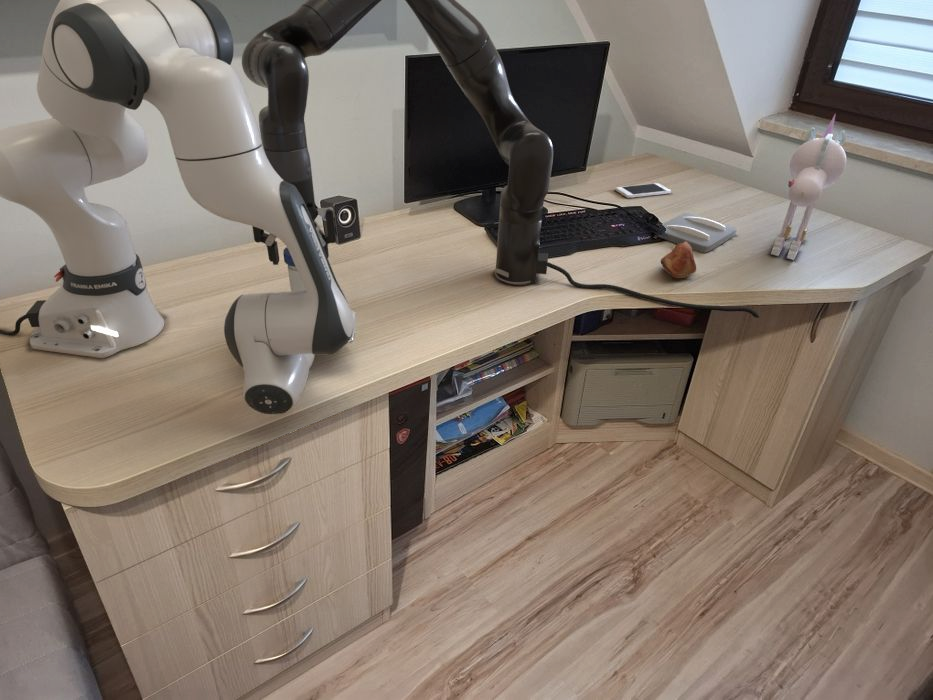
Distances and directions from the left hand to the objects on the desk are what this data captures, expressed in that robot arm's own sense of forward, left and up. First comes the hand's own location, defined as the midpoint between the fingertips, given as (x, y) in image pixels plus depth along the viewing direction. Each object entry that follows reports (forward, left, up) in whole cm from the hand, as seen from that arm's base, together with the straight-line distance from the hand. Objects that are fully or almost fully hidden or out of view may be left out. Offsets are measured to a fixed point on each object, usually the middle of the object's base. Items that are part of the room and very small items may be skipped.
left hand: (306, 303), depth 119 cm
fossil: (+80, +28, -6) cm, 85 cm away
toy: (+117, +50, -6) cm, 127 cm away
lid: (0, -1, +11) cm, 11 cm away
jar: (0, -1, -6) cm, 6 cm away
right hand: (0, -1, +9) cm, 9 cm away
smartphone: (+86, +83, -6) cm, 119 cm away
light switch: (+91, +51, -6) cm, 105 cm away
